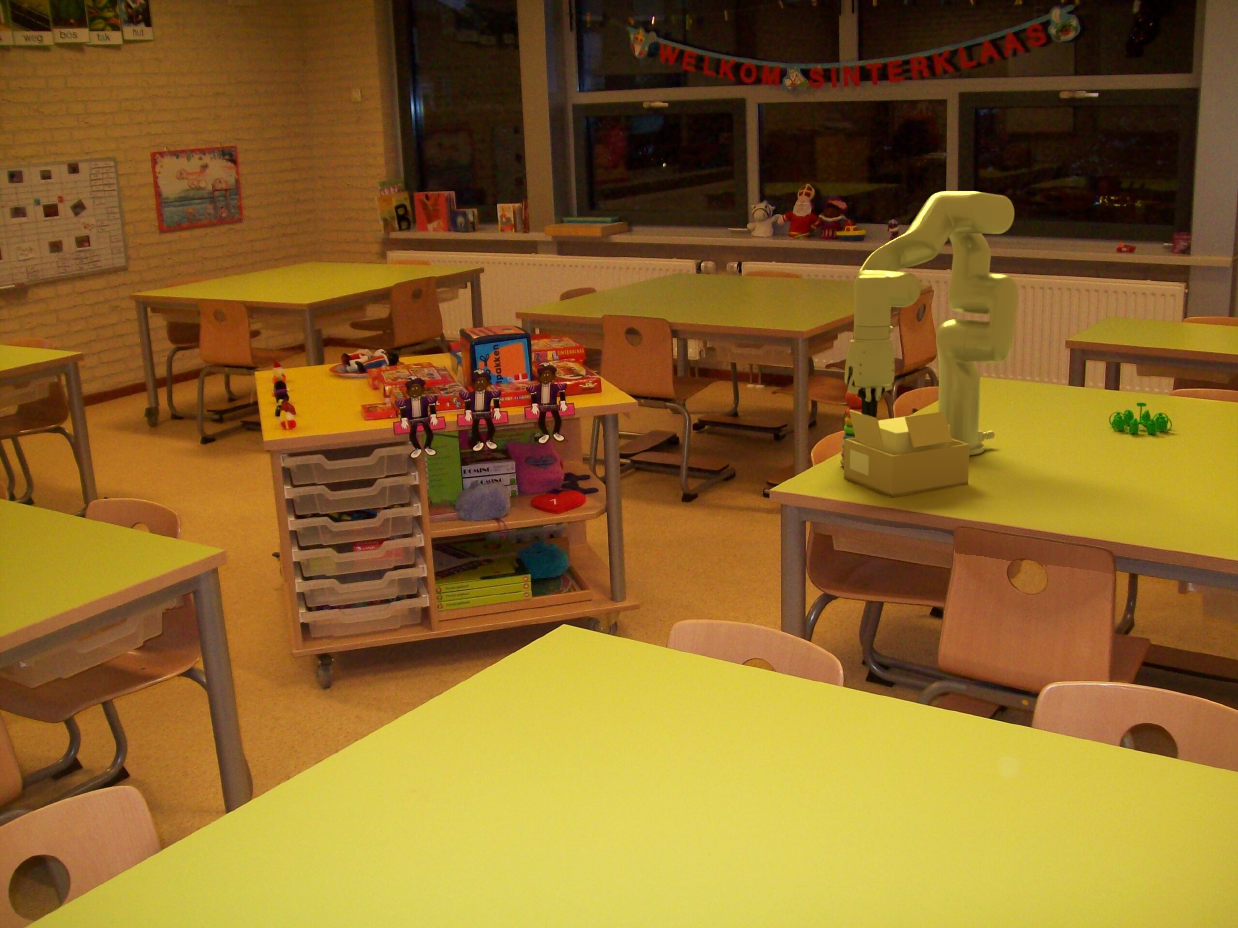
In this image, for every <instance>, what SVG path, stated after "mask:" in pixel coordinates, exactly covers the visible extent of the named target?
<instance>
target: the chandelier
mask: <svg viewBox="0 0 1238 928" xmlns="http://www.w3.org/2000/svg"><path fill="white" fill-rule="evenodd" d="M1136 406H1137V407H1140V408H1139V419H1138V418H1136V417H1135V415H1134V413H1133V410H1131V409H1126V410H1124V412H1122V411H1121V412H1120V411H1115V412H1113V413H1112V414H1111V415H1110V416H1109V417H1108V423H1109V424H1110V426H1111V428H1112V430H1113V431H1115V432H1117V431H1122V432H1124V431H1126V429H1127V428H1129V429H1128V432H1129V433H1130V435H1132V436H1134V434H1138V433H1139V429H1140V425H1142V426H1143V427H1146V429H1145V430H1146V433H1147V434H1148V435H1149V434H1151V435H1152V436H1155V435H1157V433H1158V432H1165V433H1168V432H1169V431H1171V429H1172V428H1173V423H1172V420H1171V419H1170V418H1169V416H1168V415H1167V414H1166V413H1165V412H1157V413H1156V414H1154V415H1153V416H1152V418H1151V413H1150V410H1149V409H1145V410H1144V411H1143V407H1147V403H1146V402H1138V403H1137V402H1136ZM1142 411H1143V412H1142ZM1113 415H1114V416H1113ZM1112 416H1113V419H1112V421H1111V418H1112ZM1169 423H1170V428H1169V429H1168V424H1169Z"/></svg>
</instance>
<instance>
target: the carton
mask: <svg viewBox="0 0 1238 928" xmlns="http://www.w3.org/2000/svg"><path fill="white" fill-rule="evenodd" d="M916 415H917V414H915V415H912V416H916ZM909 416H910V415H908V416H900V417H894V418H887V419H886V418H885V419H880V420H878V423H879V427H880V432H881V436H882V441H883V445H884V448H881V447H878V446H875V445H872V444H869V443H867V442H864V441H861V440H858V439H856V438H849V439H843V442H844V449H843V450H844V467H843V479H845V480H848V481H850V482H852V483H855V484H858V485H860V486H863V487H865V488H867V487H868V489H869V488H871V489H870V490H872V489H873V491H874V490H876V491H875V492H877V491H878V492H877V493H879V492H880V494H881V495H884V494H885V496H886V497H889V498H896V497H897V496H898V497H901V496H902V495H903V496H909V495H913V494H920V493H926V492H931V491H933V492H934V491H937V490H943V489H944V490H945V489H948V488H949V489H950V488H955V487H960V486H961V487H962V486H965V485H969V472H970V471H969V470H970V469H969V468H970V467H969V466H970V455H969V446H970V444H967V443H964V442H961V441H958V440H955V439H952V442H947V443H941V444H935V445H928V446H922V447H916V448H913V445H912V442H911V438H910V435H909V431H908V427H907V424H906V420H905V417H909ZM948 427H949V431H950V425H948ZM898 497H897V498H898Z"/></svg>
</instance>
